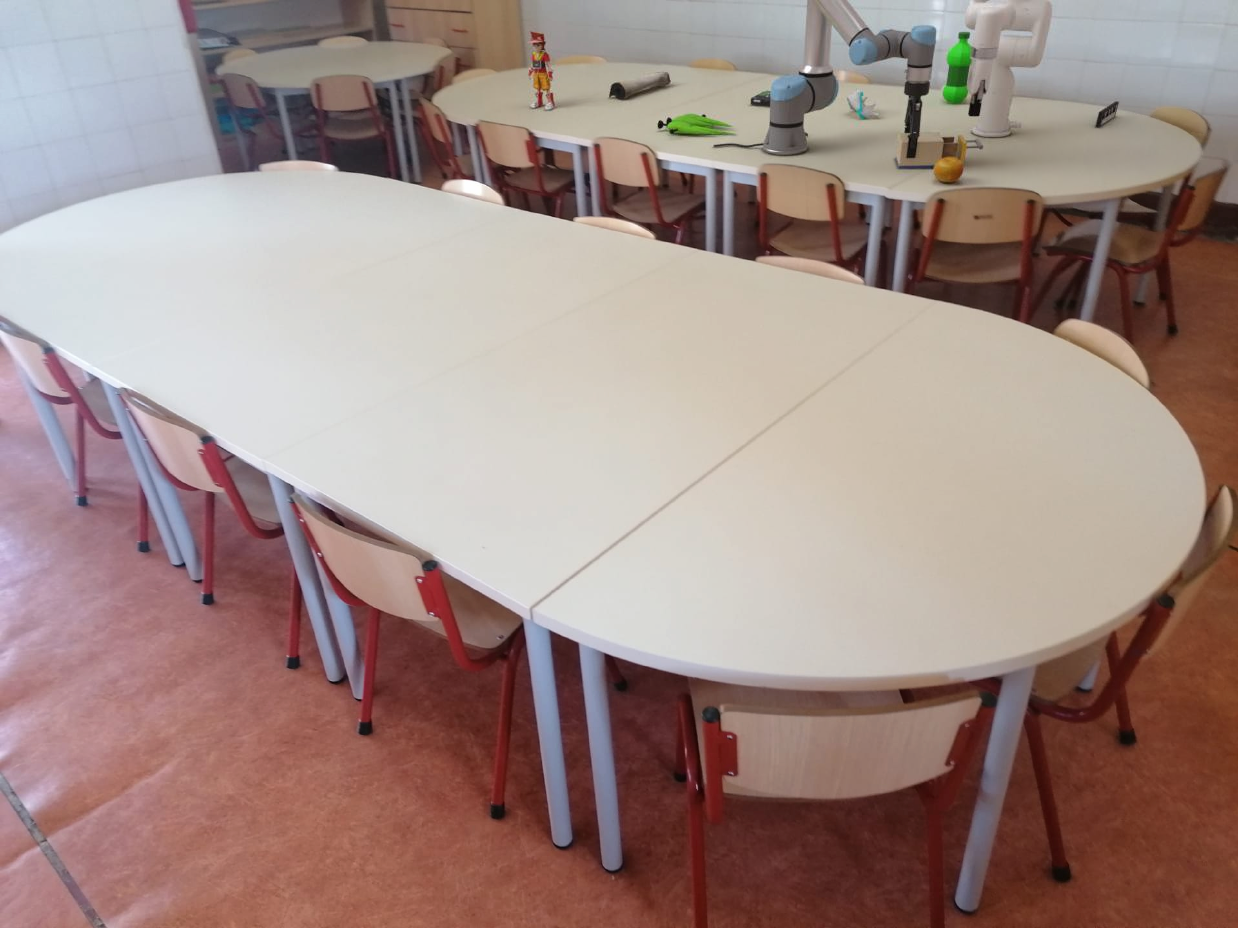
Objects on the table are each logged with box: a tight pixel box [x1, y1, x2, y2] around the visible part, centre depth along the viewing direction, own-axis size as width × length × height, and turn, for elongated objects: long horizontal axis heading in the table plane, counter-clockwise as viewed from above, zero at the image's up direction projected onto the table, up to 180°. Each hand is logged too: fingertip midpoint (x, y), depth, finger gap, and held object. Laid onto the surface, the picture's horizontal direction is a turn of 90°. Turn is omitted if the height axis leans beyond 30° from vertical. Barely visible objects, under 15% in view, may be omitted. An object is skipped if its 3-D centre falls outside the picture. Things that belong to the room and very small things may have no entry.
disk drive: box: [750, 90, 771, 107], centre depth 369 cm, size 10×3×15 cm
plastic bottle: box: [942, 31, 972, 104], centre depth 348 cm, size 10×10×25 cm
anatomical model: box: [846, 88, 881, 120], centre depth 344 cm, size 15×10×10 cm
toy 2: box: [657, 113, 735, 135], centre depth 338 cm, size 28×5×30 cm
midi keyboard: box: [1095, 100, 1120, 128], centre depth 320 cm, size 18×1×5 cm, turn 138°
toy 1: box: [527, 31, 556, 111], centre depth 374 cm, size 12×9×30 cm
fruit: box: [933, 157, 965, 183], centre depth 275 cm, size 8×9×8 cm
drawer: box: [941, 134, 984, 165], centre depth 289 cm, size 17×9×6 cm, turn 81°
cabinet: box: [895, 131, 944, 170], centre depth 291 cm, size 13×11×8 cm
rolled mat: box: [608, 71, 672, 101], centre depth 395 cm, size 30×9×10 cm
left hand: (908, 152), depth 292 cm, fingers closed on cabinet, 11 cm apart
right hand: (973, 115), depth 283 cm, fingers closed
